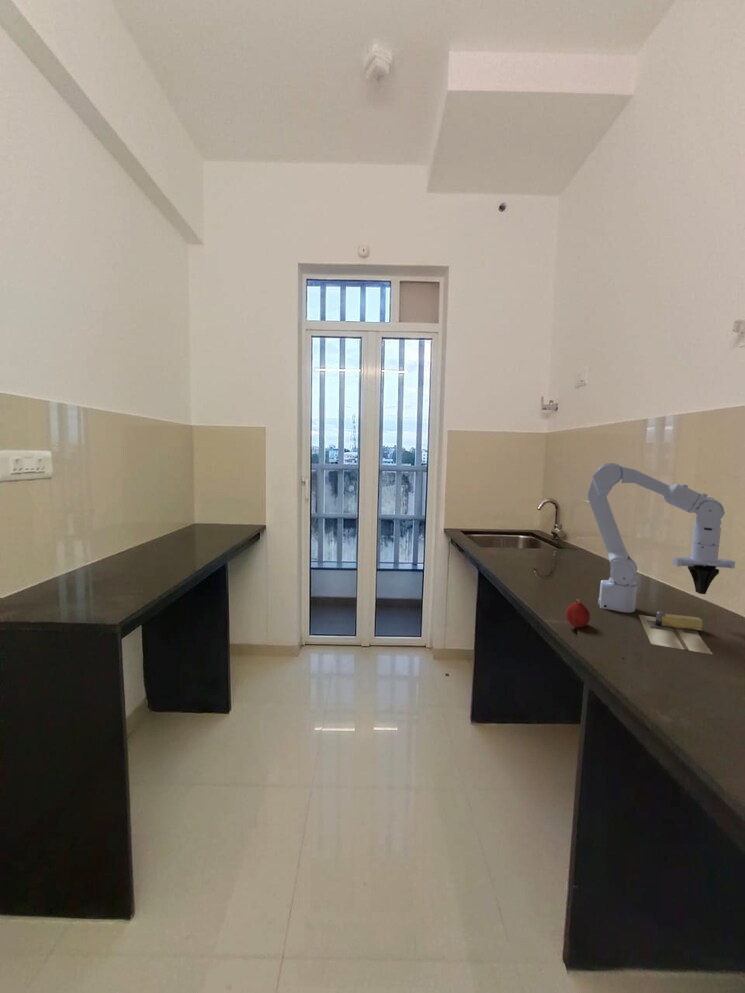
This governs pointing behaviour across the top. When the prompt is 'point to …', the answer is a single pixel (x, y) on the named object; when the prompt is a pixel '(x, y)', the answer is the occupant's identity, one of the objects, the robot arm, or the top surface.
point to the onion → (577, 614)
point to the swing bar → (678, 621)
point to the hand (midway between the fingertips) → (700, 592)
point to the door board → (673, 636)
